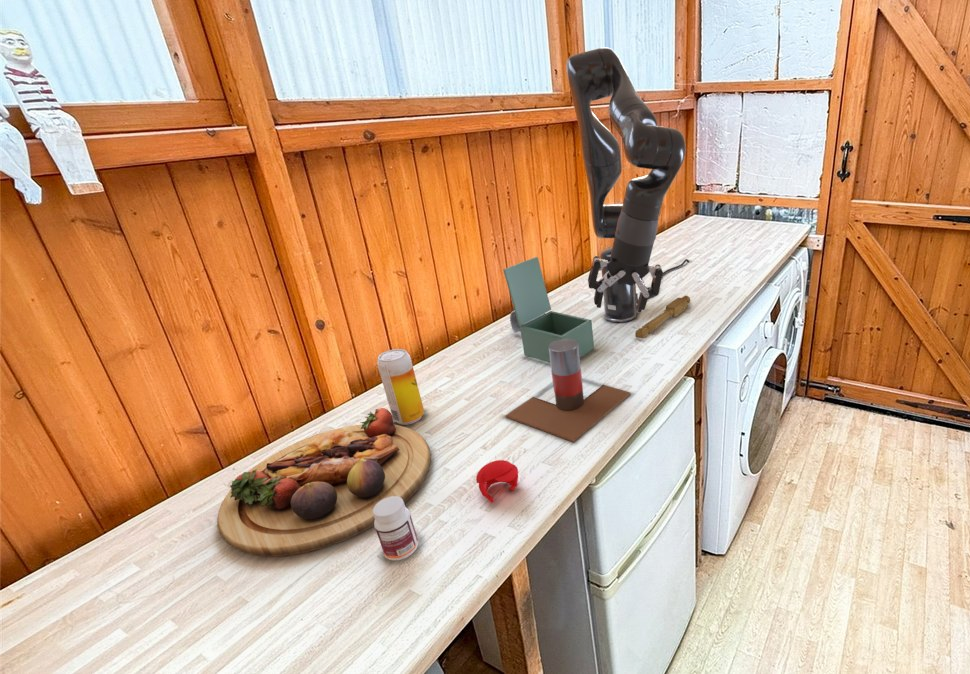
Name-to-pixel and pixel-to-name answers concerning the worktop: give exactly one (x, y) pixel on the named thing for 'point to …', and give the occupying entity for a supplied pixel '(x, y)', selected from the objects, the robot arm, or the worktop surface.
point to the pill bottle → (395, 528)
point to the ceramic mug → (515, 322)
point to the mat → (568, 413)
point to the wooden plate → (323, 487)
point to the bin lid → (527, 290)
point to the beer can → (400, 386)
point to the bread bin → (555, 334)
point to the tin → (566, 374)
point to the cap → (496, 476)
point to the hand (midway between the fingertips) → (618, 308)
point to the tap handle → (664, 316)
